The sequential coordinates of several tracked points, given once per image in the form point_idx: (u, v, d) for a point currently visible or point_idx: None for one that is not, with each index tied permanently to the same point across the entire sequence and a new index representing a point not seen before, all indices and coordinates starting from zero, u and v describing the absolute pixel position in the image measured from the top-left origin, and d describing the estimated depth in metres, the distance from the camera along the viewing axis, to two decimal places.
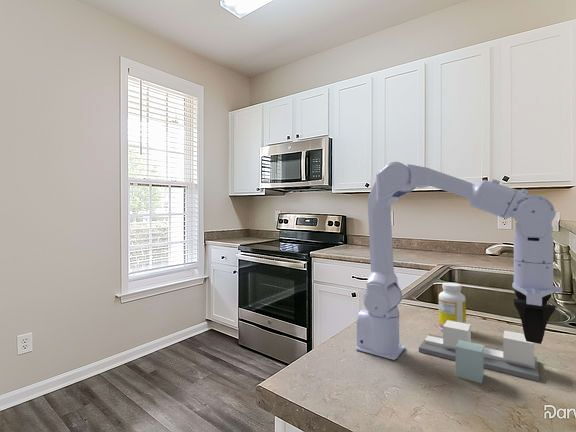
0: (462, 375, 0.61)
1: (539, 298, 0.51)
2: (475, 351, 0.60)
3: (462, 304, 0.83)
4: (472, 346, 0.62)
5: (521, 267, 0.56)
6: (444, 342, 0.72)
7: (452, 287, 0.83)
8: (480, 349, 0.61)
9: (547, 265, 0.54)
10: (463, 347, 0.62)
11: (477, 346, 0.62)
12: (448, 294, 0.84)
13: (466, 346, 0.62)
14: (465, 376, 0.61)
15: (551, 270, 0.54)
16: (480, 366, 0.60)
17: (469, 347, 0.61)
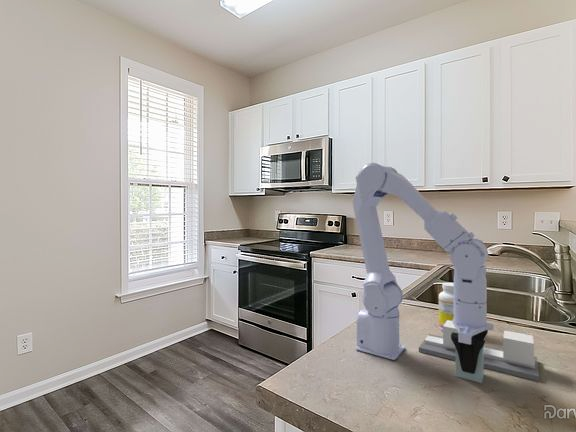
0: (462, 375, 0.61)
1: (468, 337, 0.56)
2: None
3: None
4: None
5: (458, 306, 0.61)
6: (444, 342, 0.72)
7: (452, 287, 0.83)
8: None
9: (480, 305, 0.59)
10: None
11: None
12: (448, 294, 0.84)
13: None
14: (465, 376, 0.61)
15: (484, 309, 0.60)
16: (480, 366, 0.60)
17: None
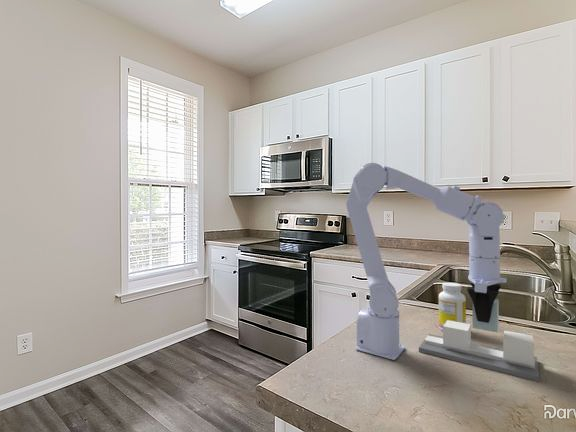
0: (479, 326, 0.67)
1: (484, 286, 0.62)
2: None
3: (462, 304, 0.83)
4: None
5: (473, 261, 0.67)
6: (444, 342, 0.72)
7: (452, 287, 0.83)
8: (495, 302, 0.66)
9: (494, 260, 0.65)
10: None
11: None
12: (448, 294, 0.84)
13: None
14: (481, 327, 0.67)
15: (497, 264, 0.65)
16: (495, 316, 0.65)
17: None
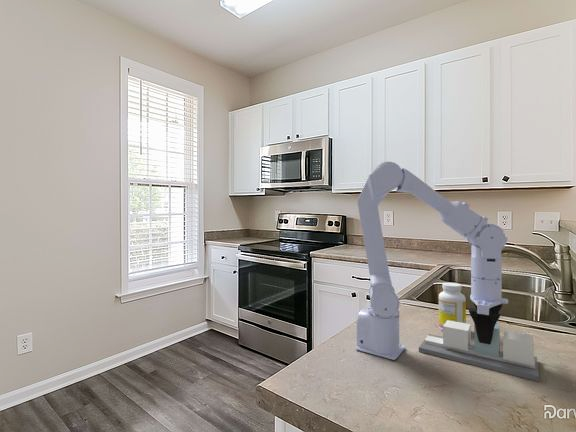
0: (481, 350, 0.68)
1: (486, 309, 0.63)
2: None
3: (462, 304, 0.83)
4: None
5: (476, 282, 0.68)
6: (444, 342, 0.72)
7: (452, 287, 0.83)
8: (497, 327, 0.67)
9: (496, 281, 0.66)
10: None
11: None
12: (448, 294, 0.84)
13: None
14: (483, 351, 0.68)
15: (499, 285, 0.66)
16: (497, 341, 0.66)
17: None
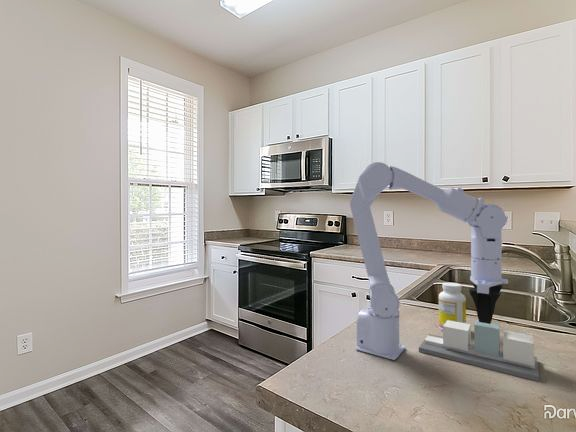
0: (481, 350, 0.68)
1: (486, 287, 0.63)
2: (492, 328, 0.67)
3: (462, 304, 0.83)
4: (490, 324, 0.69)
5: (476, 263, 0.68)
6: (444, 342, 0.72)
7: (452, 287, 0.83)
8: (497, 327, 0.67)
9: (495, 261, 0.66)
10: (481, 325, 0.68)
11: (494, 324, 0.69)
12: (448, 294, 0.84)
13: (483, 324, 0.69)
14: (483, 351, 0.68)
15: (499, 265, 0.66)
16: (497, 341, 0.66)
17: (486, 325, 0.68)
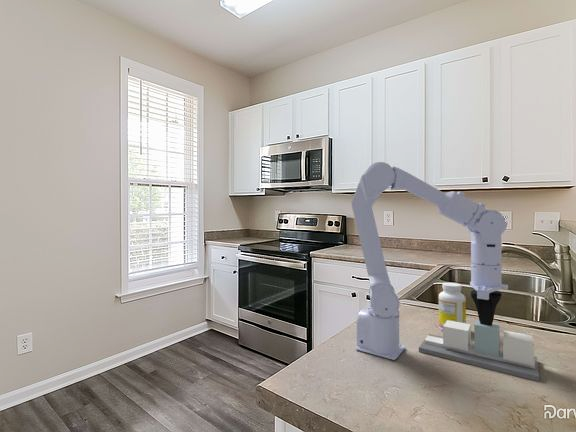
0: (481, 350, 0.68)
1: (486, 293, 0.63)
2: (492, 328, 0.67)
3: (462, 304, 0.83)
4: None
5: (476, 268, 0.68)
6: (444, 342, 0.72)
7: (452, 287, 0.83)
8: (497, 327, 0.67)
9: (495, 267, 0.66)
10: (481, 325, 0.68)
11: (494, 324, 0.69)
12: (448, 294, 0.84)
13: None
14: (483, 351, 0.68)
15: (499, 271, 0.66)
16: (497, 341, 0.66)
17: (486, 325, 0.68)
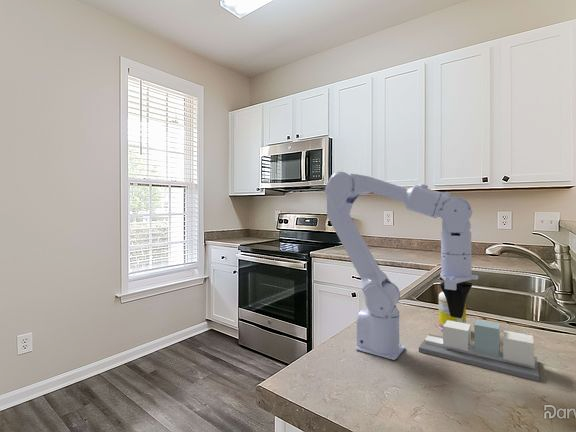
0: (481, 350, 0.68)
1: (453, 283, 0.60)
2: (492, 328, 0.67)
3: None
4: (490, 324, 0.69)
5: (445, 258, 0.65)
6: (444, 342, 0.72)
7: None
8: (497, 327, 0.67)
9: (465, 256, 0.64)
10: (481, 325, 0.68)
11: (494, 324, 0.69)
12: None
13: (483, 324, 0.69)
14: (483, 351, 0.68)
15: (468, 260, 0.64)
16: (497, 341, 0.66)
17: (486, 325, 0.68)
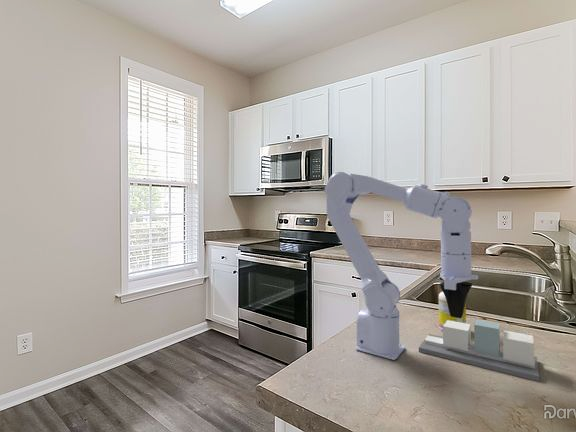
0: (481, 350, 0.68)
1: (453, 283, 0.60)
2: (492, 328, 0.67)
3: None
4: (490, 324, 0.69)
5: (445, 258, 0.65)
6: (444, 342, 0.72)
7: None
8: (497, 327, 0.67)
9: (464, 256, 0.63)
10: (481, 325, 0.68)
11: (494, 324, 0.69)
12: None
13: (483, 324, 0.69)
14: (483, 351, 0.68)
15: (468, 260, 0.64)
16: (497, 341, 0.66)
17: (486, 325, 0.68)
